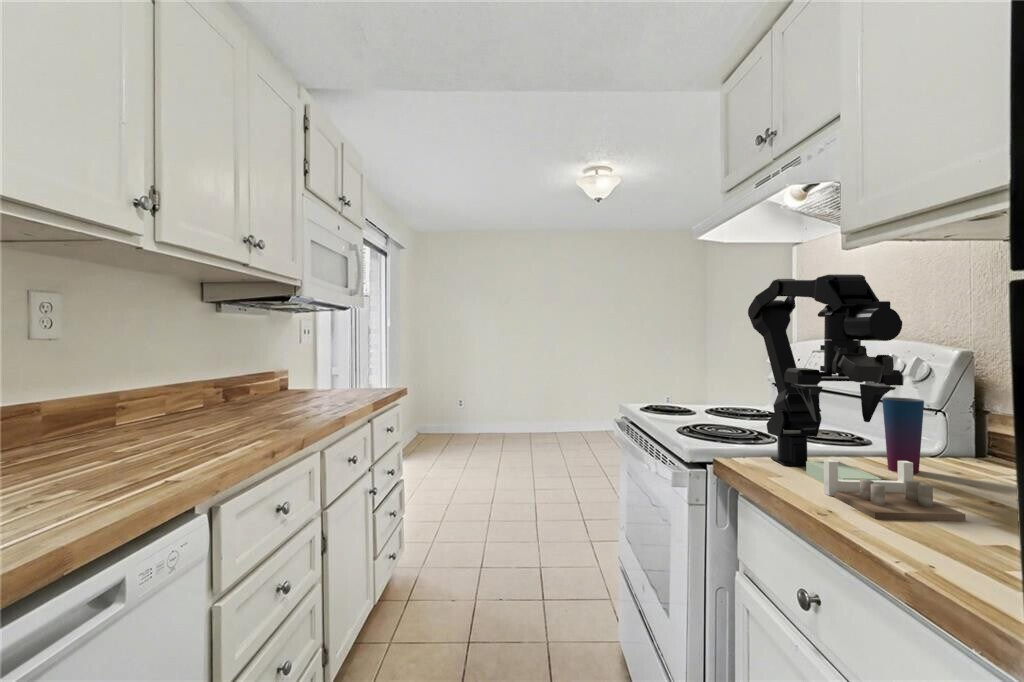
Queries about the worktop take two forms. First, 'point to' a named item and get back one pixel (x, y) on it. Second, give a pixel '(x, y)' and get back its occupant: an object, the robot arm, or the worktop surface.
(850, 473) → the board
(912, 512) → the peg stand
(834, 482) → the u-shaped frame
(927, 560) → the worktop surface
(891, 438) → the cup
